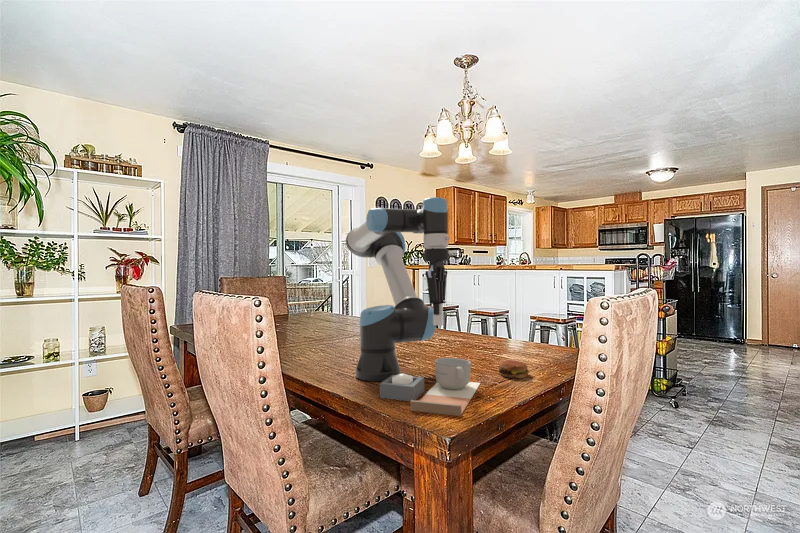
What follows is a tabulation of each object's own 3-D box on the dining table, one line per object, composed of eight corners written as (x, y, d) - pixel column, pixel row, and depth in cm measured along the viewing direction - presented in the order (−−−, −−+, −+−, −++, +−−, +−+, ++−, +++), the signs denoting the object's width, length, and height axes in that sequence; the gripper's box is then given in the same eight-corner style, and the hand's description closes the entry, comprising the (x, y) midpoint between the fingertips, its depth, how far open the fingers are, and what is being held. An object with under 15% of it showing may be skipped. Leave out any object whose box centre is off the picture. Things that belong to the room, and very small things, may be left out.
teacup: (434, 381, 131) (434, 356, 131) (469, 381, 130) (468, 356, 130) (437, 395, 117) (436, 367, 117) (475, 395, 116) (475, 366, 116)
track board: (410, 410, 106) (410, 401, 106) (439, 380, 133) (439, 373, 133) (460, 416, 102) (460, 406, 102) (480, 383, 129) (480, 376, 129)
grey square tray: (379, 398, 117) (379, 383, 117) (392, 387, 126) (392, 374, 126) (413, 401, 113) (413, 386, 113) (424, 390, 123) (424, 377, 123)
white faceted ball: (389, 396, 118) (388, 375, 118) (396, 390, 124) (396, 370, 124) (409, 398, 116) (408, 377, 116) (415, 392, 121) (415, 371, 121)
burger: (515, 370, 145) (515, 357, 145) (534, 376, 136) (534, 362, 136) (492, 374, 141) (492, 360, 140) (510, 381, 132) (510, 366, 132)
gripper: (440, 246, 120) (442, 328, 120) (454, 248, 132) (456, 322, 132) (416, 248, 124) (418, 327, 123) (432, 249, 135) (434, 322, 135)
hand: (438, 324), depth 128 cm, fingers closed
